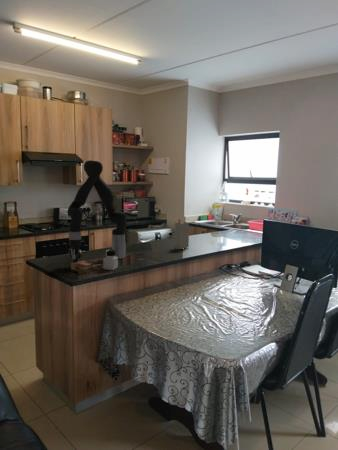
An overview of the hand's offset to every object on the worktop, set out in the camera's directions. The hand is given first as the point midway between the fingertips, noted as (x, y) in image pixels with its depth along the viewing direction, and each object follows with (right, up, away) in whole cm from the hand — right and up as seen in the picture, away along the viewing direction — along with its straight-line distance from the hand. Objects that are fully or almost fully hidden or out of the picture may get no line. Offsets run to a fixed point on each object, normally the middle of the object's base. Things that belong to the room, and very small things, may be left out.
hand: (75, 264), depth 229 cm
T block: (+6, -2, -4) cm, 8 cm away
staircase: (+71, +6, +64) cm, 95 cm away
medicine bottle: (+23, -3, 0) cm, 23 cm away
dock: (+9, -3, -7) cm, 12 cm away
